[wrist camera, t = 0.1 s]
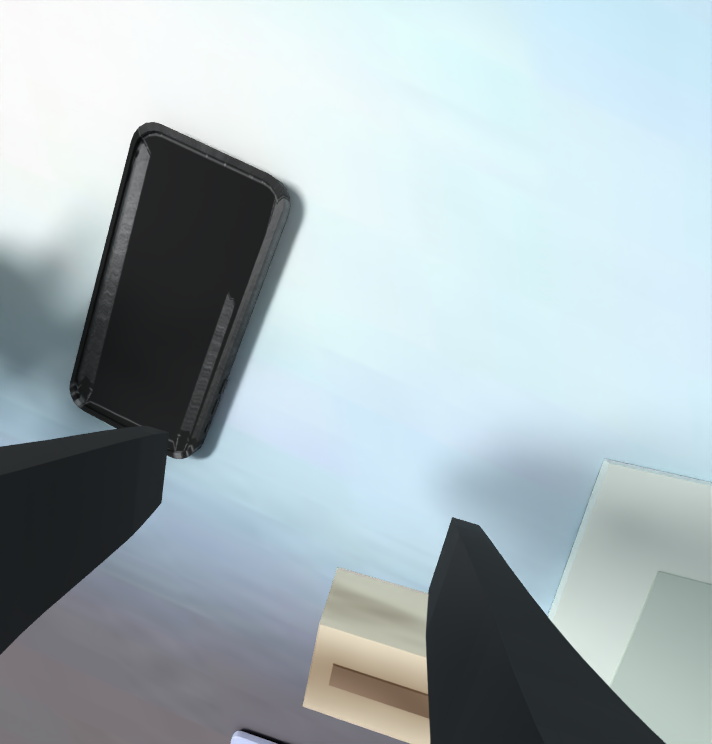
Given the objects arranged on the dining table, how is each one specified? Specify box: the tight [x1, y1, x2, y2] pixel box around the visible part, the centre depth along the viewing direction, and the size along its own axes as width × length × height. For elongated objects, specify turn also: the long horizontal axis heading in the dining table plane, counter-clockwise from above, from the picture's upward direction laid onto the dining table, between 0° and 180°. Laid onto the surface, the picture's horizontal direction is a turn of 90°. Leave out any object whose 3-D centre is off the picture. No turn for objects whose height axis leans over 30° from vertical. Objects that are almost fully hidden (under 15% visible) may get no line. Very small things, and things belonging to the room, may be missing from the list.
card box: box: [303, 567, 430, 744], centre depth 20 cm, size 5×9×4 cm, turn 79°
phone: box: [70, 122, 290, 459], centre depth 20 cm, size 8×1×15 cm
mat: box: [548, 459, 712, 744], centre depth 19 cm, size 20×13×1 cm, turn 170°
